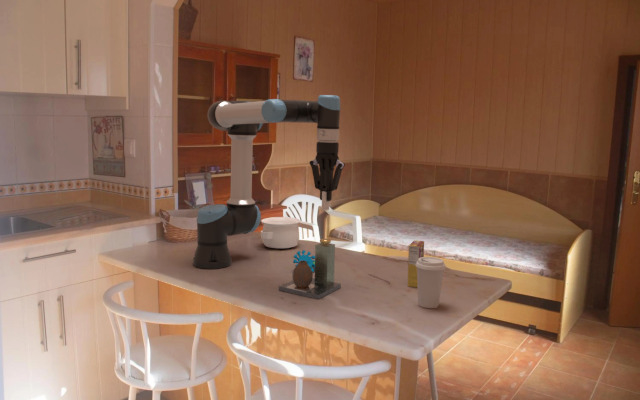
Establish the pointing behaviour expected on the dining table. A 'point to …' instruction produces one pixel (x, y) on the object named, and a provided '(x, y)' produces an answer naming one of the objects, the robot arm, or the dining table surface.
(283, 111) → the robot arm
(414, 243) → the candy box
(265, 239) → the pot
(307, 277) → the vase
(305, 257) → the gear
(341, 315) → the dining table surface
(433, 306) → the coffee cup
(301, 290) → the base
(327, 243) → the ram pin
